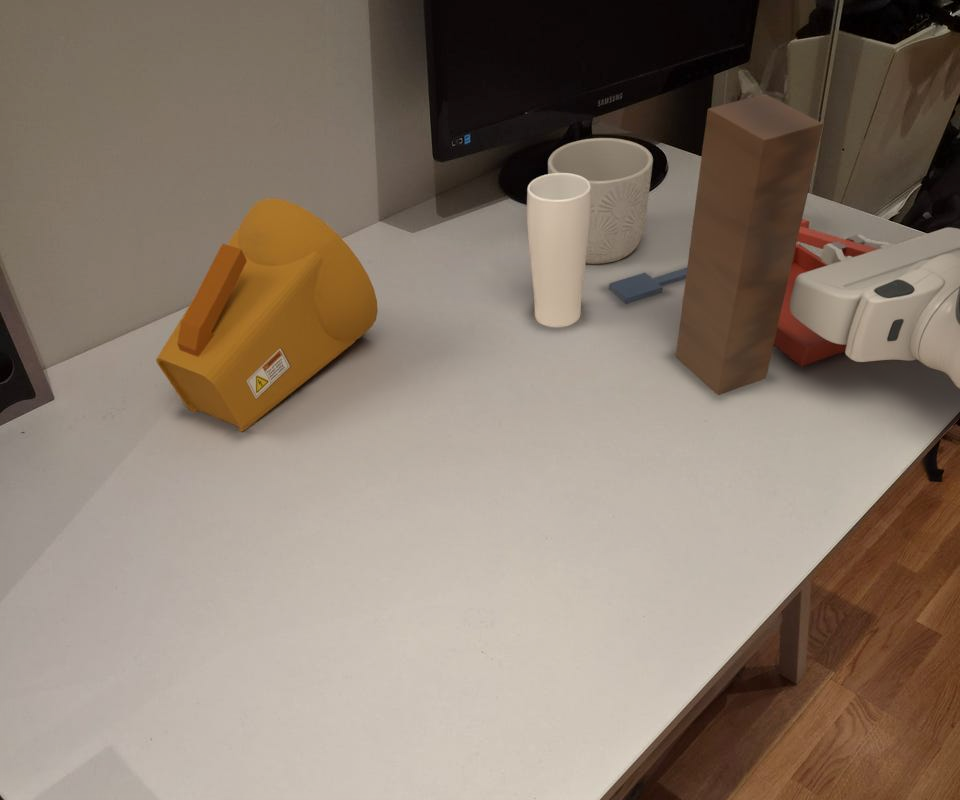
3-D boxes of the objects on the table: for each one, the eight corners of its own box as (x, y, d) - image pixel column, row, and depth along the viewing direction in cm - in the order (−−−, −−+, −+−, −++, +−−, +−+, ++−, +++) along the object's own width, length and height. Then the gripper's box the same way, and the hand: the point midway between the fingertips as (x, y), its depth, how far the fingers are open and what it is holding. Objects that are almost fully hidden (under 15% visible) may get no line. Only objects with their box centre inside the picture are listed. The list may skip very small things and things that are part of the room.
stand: (720, 345, 96) (764, 93, 77) (765, 382, 91) (823, 123, 72) (674, 361, 95) (707, 108, 75) (717, 399, 90) (763, 140, 71)
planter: (638, 276, 106) (646, 184, 98) (539, 270, 109) (538, 179, 100) (650, 228, 114) (658, 139, 105) (557, 223, 116) (557, 135, 108)
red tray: (794, 264, 106) (798, 243, 104) (899, 335, 95) (906, 313, 93) (702, 293, 103) (705, 272, 101) (800, 370, 92) (805, 348, 90)
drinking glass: (596, 325, 100) (603, 191, 88) (543, 340, 99) (542, 206, 87) (571, 298, 104) (574, 166, 92) (519, 312, 103) (516, 180, 91)
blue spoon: (608, 292, 104) (609, 283, 103) (727, 255, 108) (728, 246, 107) (625, 308, 102) (626, 298, 101) (746, 269, 106) (748, 260, 105)
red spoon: (778, 223, 99) (779, 212, 98) (890, 256, 87) (891, 243, 86) (749, 232, 98) (750, 221, 97) (857, 267, 86) (859, 254, 85)
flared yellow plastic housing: (285, 310, 106) (221, 178, 90) (396, 347, 99) (346, 211, 84) (183, 428, 100) (95, 308, 84) (293, 476, 93) (220, 355, 78)
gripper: (1035, 246, 81) (928, 190, 89) (859, 305, 77) (763, 240, 85) (1007, 309, 86) (908, 250, 94) (840, 367, 82) (751, 300, 90)
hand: (838, 246), depth 90 cm, fingers closed on red spoon, 1 cm apart
